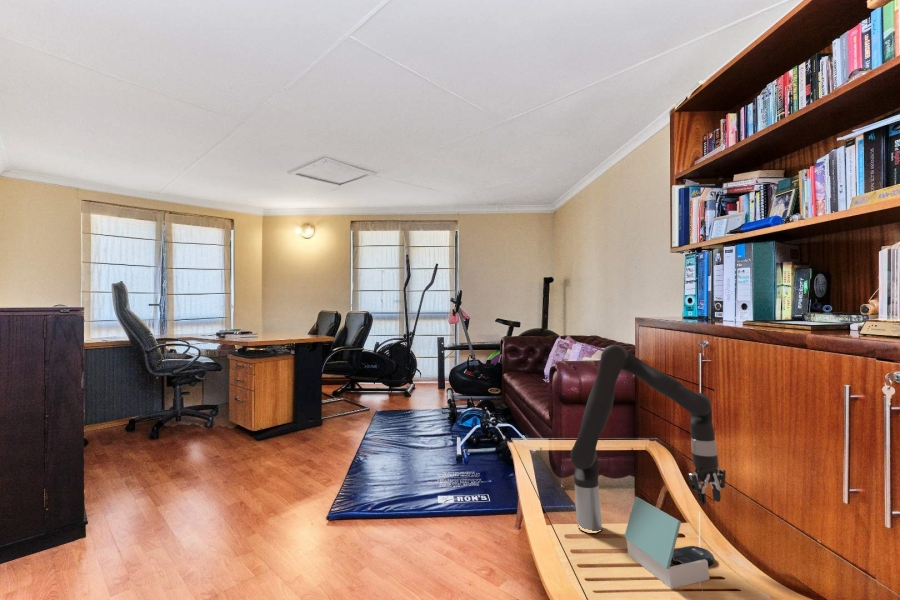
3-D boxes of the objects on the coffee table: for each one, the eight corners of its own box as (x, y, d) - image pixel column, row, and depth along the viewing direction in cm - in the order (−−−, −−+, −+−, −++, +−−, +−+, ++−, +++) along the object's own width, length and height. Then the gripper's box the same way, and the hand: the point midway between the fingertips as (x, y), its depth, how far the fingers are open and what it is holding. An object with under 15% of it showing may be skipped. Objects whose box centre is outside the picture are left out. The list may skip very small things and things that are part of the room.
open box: (628, 554, 138) (626, 538, 138) (662, 547, 141) (660, 531, 141) (671, 588, 119) (669, 569, 119) (709, 579, 122) (707, 560, 122)
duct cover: (626, 537, 138) (624, 536, 138) (637, 497, 141) (635, 496, 140) (669, 569, 119) (666, 568, 119) (681, 521, 122) (678, 520, 122)
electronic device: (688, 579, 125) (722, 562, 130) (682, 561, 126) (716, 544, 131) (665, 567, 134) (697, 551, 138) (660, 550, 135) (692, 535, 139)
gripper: (711, 446, 143) (717, 495, 141) (678, 451, 139) (683, 501, 138) (730, 452, 135) (736, 503, 134) (696, 457, 132) (701, 510, 131)
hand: (709, 502), depth 136 cm, fingers open, 5 cm apart
